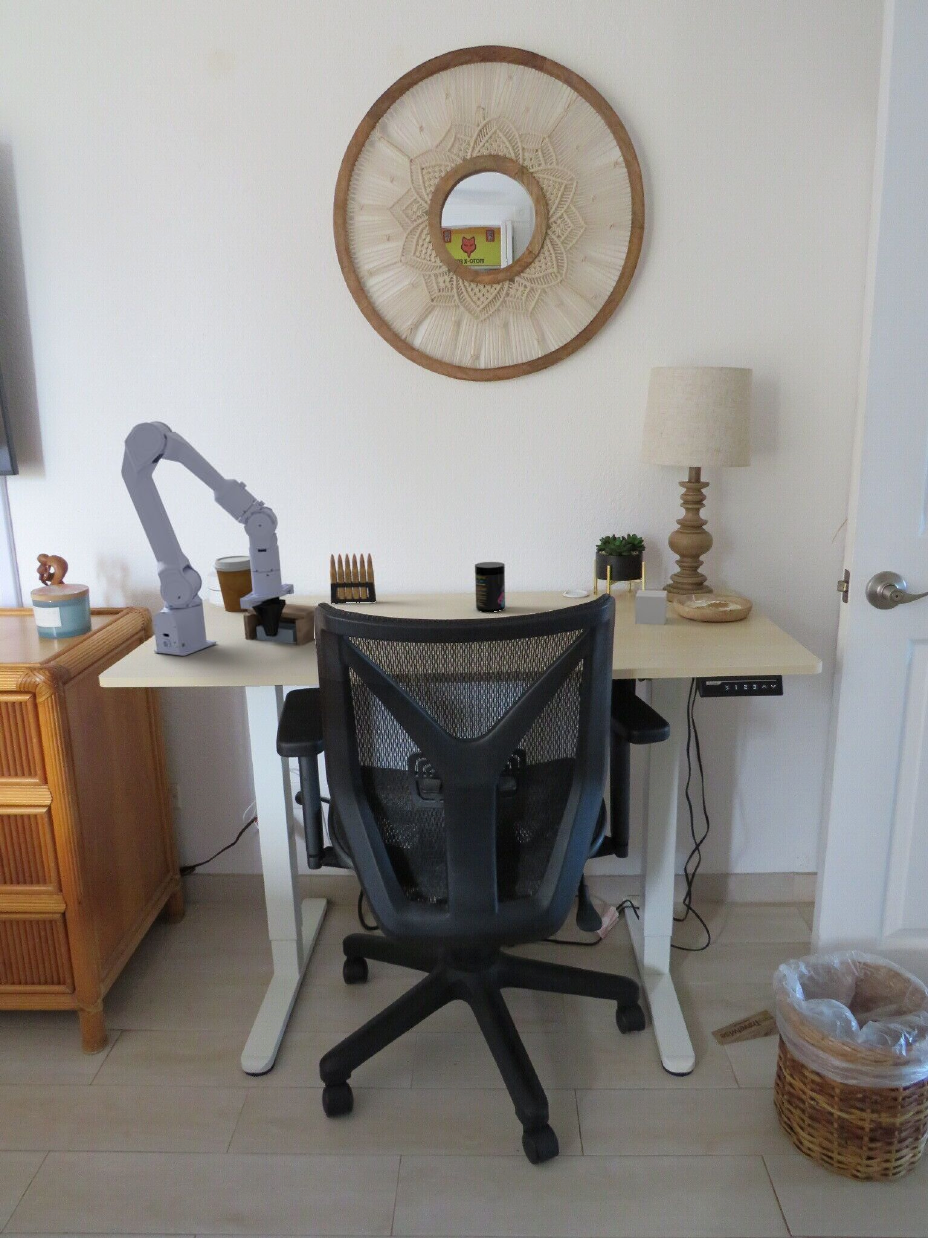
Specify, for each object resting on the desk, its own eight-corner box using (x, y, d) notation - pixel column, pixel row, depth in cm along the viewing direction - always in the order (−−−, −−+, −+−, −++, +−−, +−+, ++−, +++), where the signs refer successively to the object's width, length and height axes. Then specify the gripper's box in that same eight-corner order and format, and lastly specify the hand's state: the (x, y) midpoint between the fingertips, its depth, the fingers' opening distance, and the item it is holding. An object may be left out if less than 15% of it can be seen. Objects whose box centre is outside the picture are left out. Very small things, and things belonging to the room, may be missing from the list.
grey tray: (293, 645, 173) (292, 630, 172) (257, 641, 176) (256, 626, 176) (308, 638, 177) (307, 624, 176) (272, 634, 181) (271, 621, 180)
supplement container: (497, 614, 190) (496, 568, 188) (470, 611, 194) (469, 566, 191) (510, 607, 196) (509, 562, 194) (484, 605, 199) (483, 561, 197)
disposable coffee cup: (265, 604, 207) (260, 554, 204) (251, 613, 198) (246, 562, 195) (226, 604, 208) (222, 555, 205) (211, 613, 199) (206, 562, 196)
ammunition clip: (330, 604, 205) (327, 554, 202) (332, 602, 207) (328, 553, 204) (375, 603, 205) (372, 553, 202) (376, 601, 206) (373, 552, 203)
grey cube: (664, 625, 178) (665, 597, 176) (634, 624, 180) (635, 596, 178) (666, 618, 183) (667, 590, 182) (637, 616, 185) (638, 589, 184)
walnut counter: (301, 645, 171) (299, 616, 169) (245, 638, 177) (242, 610, 175) (324, 635, 178) (322, 606, 176) (269, 629, 184) (267, 601, 182)
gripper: (258, 577, 162) (265, 647, 165) (303, 563, 174) (309, 628, 178) (229, 575, 165) (235, 643, 168) (275, 562, 177) (281, 625, 181)
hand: (271, 635), depth 173 cm, fingers closed
